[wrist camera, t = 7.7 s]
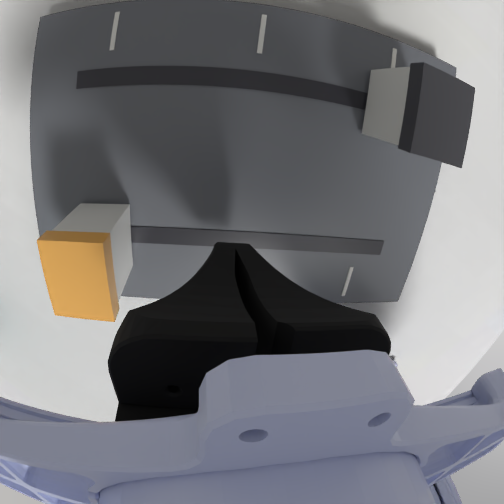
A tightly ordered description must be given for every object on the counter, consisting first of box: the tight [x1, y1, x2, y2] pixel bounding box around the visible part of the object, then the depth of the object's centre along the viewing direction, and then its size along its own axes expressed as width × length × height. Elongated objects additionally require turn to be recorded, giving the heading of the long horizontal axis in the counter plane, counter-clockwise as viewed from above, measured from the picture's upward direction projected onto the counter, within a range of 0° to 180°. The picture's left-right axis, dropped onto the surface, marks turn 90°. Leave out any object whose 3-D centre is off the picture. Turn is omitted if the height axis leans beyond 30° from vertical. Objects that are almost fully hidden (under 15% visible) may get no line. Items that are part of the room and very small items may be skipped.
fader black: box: [362, 62, 475, 168], centre depth 10 cm, size 3×3×4 cm
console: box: [30, 0, 456, 303], centre depth 13 cm, size 14×20×2 cm
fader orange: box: [37, 203, 133, 322], centre depth 11 cm, size 3×3×4 cm
